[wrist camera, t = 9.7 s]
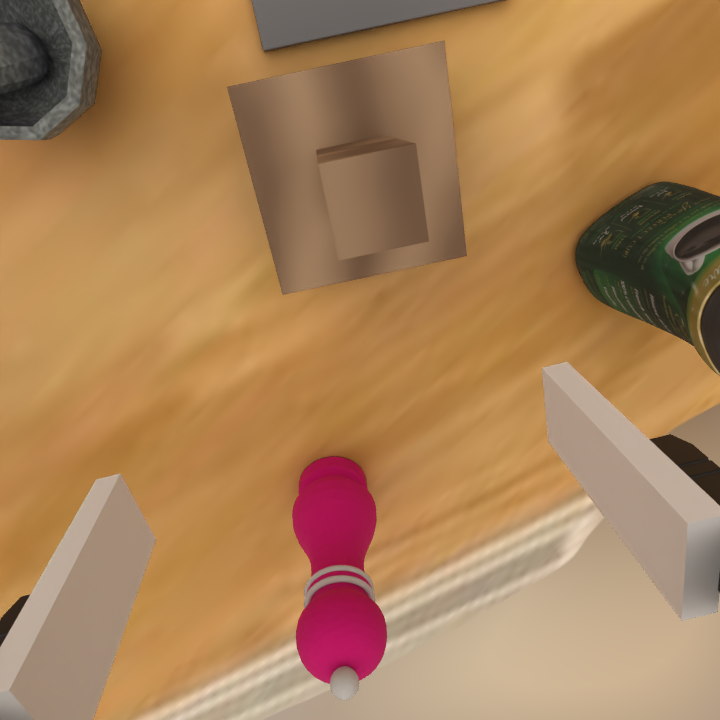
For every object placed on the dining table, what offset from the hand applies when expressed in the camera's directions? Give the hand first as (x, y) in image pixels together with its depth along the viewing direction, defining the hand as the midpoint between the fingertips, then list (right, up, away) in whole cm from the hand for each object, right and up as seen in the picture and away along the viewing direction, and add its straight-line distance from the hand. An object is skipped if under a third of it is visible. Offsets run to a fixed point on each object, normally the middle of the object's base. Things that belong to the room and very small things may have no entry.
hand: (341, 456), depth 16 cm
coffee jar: (+22, +12, +26) cm, 36 cm away
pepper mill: (-2, -8, +33) cm, 34 cm away
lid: (0, +14, +16) cm, 21 cm away
